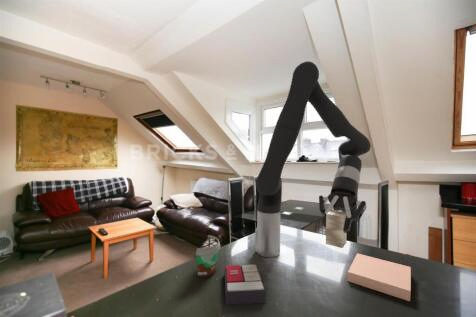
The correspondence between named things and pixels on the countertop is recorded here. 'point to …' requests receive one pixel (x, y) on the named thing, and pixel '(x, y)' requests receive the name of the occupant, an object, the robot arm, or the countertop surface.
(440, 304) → the countertop surface
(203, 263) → the food container
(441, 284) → the countertop surface
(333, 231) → the ash block
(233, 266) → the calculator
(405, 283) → the plinth
